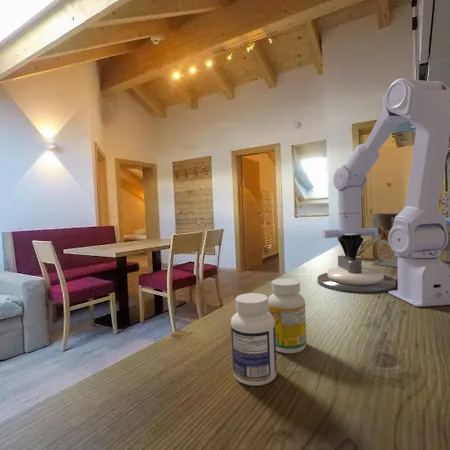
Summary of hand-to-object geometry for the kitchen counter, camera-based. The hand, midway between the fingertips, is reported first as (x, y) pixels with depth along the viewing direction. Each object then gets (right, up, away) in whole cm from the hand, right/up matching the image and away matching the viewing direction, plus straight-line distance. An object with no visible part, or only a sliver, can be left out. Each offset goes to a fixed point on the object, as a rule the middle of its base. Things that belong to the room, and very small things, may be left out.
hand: (350, 263), depth 85 cm
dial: (-2, -3, -6) cm, 7 cm away
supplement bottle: (-25, -8, -39) cm, 47 cm away
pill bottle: (-30, -8, -46) cm, 56 cm away
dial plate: (-1, -4, -6) cm, 8 cm away
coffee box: (+18, -2, +13) cm, 22 cm away
